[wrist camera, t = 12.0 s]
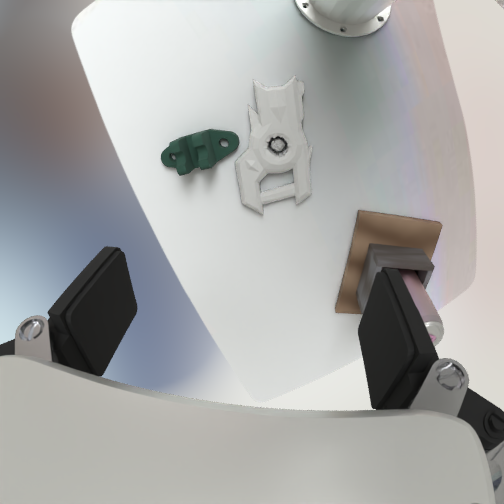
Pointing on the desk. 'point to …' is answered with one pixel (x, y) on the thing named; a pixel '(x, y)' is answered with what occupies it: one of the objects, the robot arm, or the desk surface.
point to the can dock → (385, 254)
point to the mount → (198, 150)
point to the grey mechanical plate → (275, 146)
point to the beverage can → (423, 304)
